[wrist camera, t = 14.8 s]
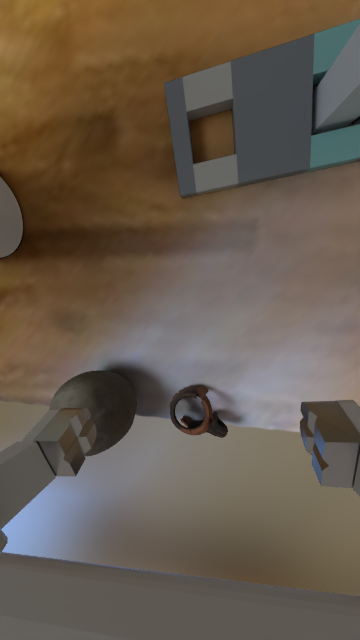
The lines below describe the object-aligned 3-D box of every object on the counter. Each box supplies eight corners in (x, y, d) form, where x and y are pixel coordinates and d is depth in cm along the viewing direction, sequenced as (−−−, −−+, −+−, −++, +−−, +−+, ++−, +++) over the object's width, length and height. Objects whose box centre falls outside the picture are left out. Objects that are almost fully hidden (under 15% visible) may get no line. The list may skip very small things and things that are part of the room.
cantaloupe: (146, 360, 44) (114, 418, 31) (144, 414, 50) (116, 483, 36) (80, 349, 46) (22, 399, 32) (85, 402, 52) (37, 464, 38)
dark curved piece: (170, 413, 49) (157, 424, 41) (187, 374, 50) (178, 377, 42) (221, 443, 46) (217, 461, 38) (239, 400, 46) (239, 409, 38)
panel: (182, 198, 33) (180, 196, 31) (168, 94, 29) (163, 83, 26) (370, 158, 28) (384, 152, 26) (385, 26, 24) (403, 4, 21)
